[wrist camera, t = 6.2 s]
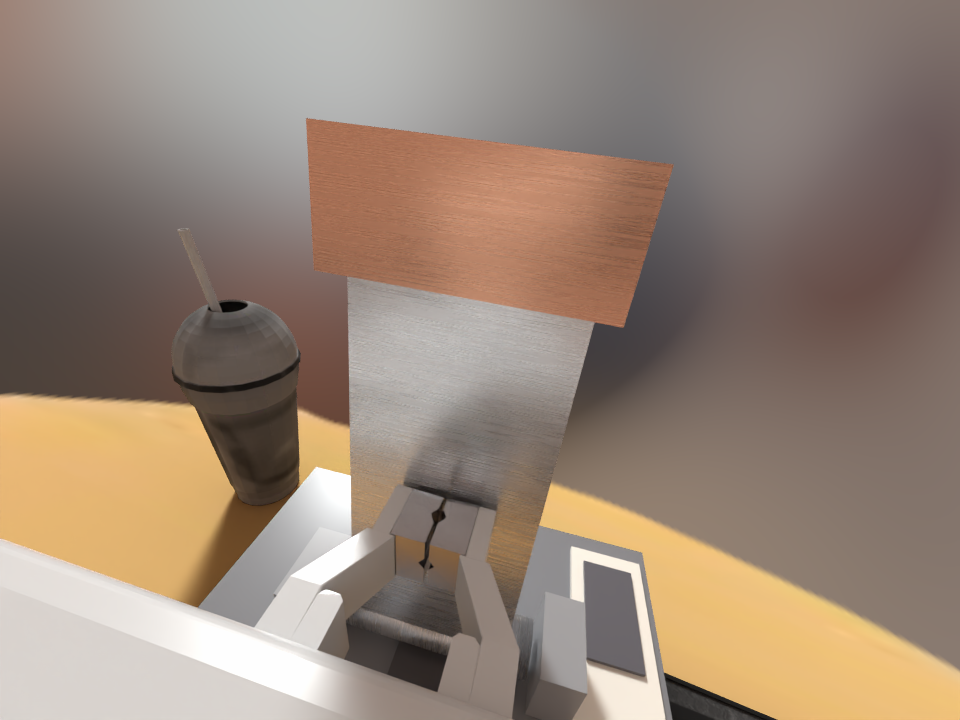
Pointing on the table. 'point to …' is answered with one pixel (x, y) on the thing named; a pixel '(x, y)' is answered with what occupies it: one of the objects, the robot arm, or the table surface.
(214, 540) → the table surface
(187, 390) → the beverage cup
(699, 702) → the phone
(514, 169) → the lever
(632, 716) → the switch box
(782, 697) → the table surface
